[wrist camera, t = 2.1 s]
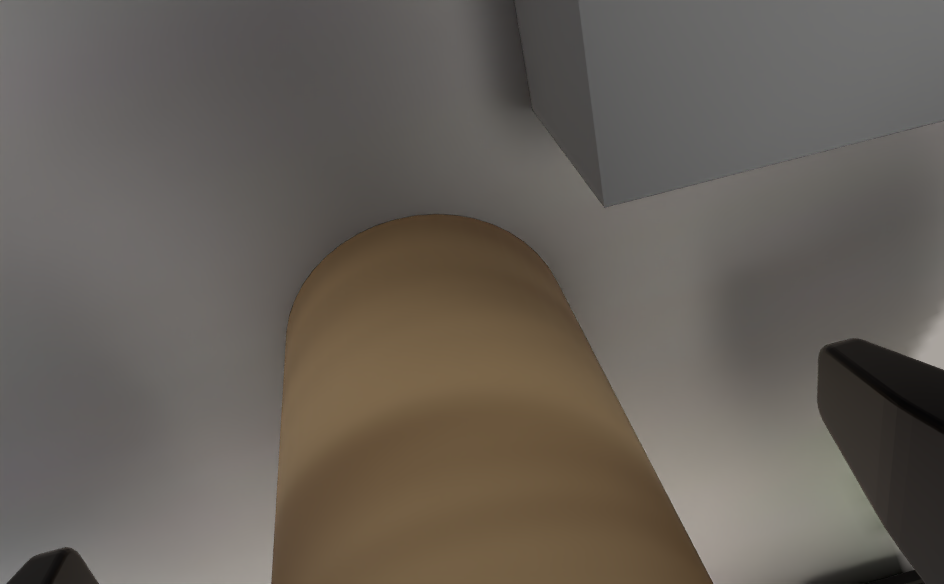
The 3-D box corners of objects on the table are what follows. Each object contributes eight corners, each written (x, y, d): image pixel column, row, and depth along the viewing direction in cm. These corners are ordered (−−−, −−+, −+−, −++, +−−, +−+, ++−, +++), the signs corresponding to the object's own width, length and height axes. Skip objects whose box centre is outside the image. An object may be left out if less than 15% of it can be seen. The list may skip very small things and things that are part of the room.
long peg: (582, 413, 13) (886, 1092, 6) (332, 479, 13) (350, 1255, 6) (544, 181, 11) (938, 814, 4) (244, 257, 11) (113, 1056, 4)
